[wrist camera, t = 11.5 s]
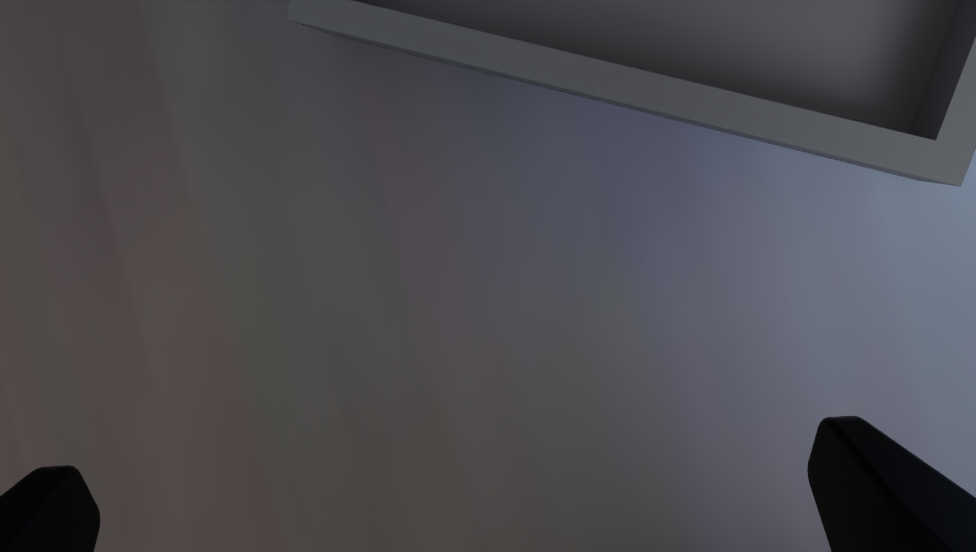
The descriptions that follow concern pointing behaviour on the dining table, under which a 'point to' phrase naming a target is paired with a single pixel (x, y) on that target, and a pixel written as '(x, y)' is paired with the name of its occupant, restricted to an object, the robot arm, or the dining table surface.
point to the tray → (720, 65)
